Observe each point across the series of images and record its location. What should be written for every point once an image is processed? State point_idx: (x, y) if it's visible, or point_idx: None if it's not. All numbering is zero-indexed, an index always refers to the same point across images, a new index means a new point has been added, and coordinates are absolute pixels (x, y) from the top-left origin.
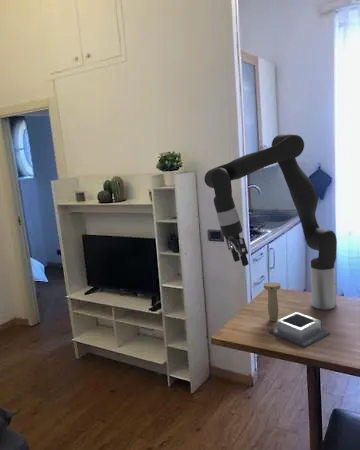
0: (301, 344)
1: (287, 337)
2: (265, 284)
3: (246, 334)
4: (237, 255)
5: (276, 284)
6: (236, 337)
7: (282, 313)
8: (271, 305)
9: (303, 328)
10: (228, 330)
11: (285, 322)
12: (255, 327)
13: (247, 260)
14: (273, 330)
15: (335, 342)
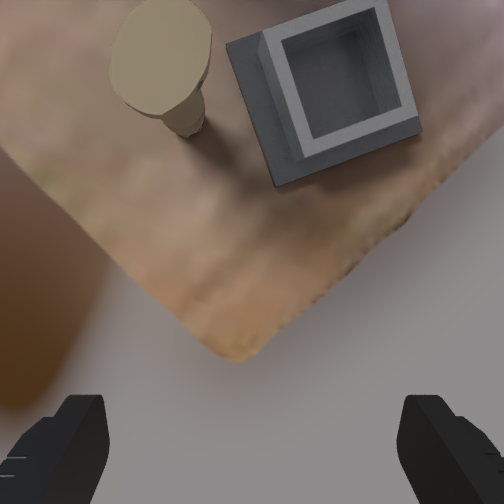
0: (410, 136)
1: (356, 156)
2: (140, 96)
3: (256, 267)
4: (61, 479)
5: (174, 25)
6: (262, 307)
7: None
8: (196, 117)
9: (412, 98)
10: (201, 314)
11: (335, 133)
12: (217, 216)
13: (470, 440)
14: (287, 174)
15: (433, 17)
